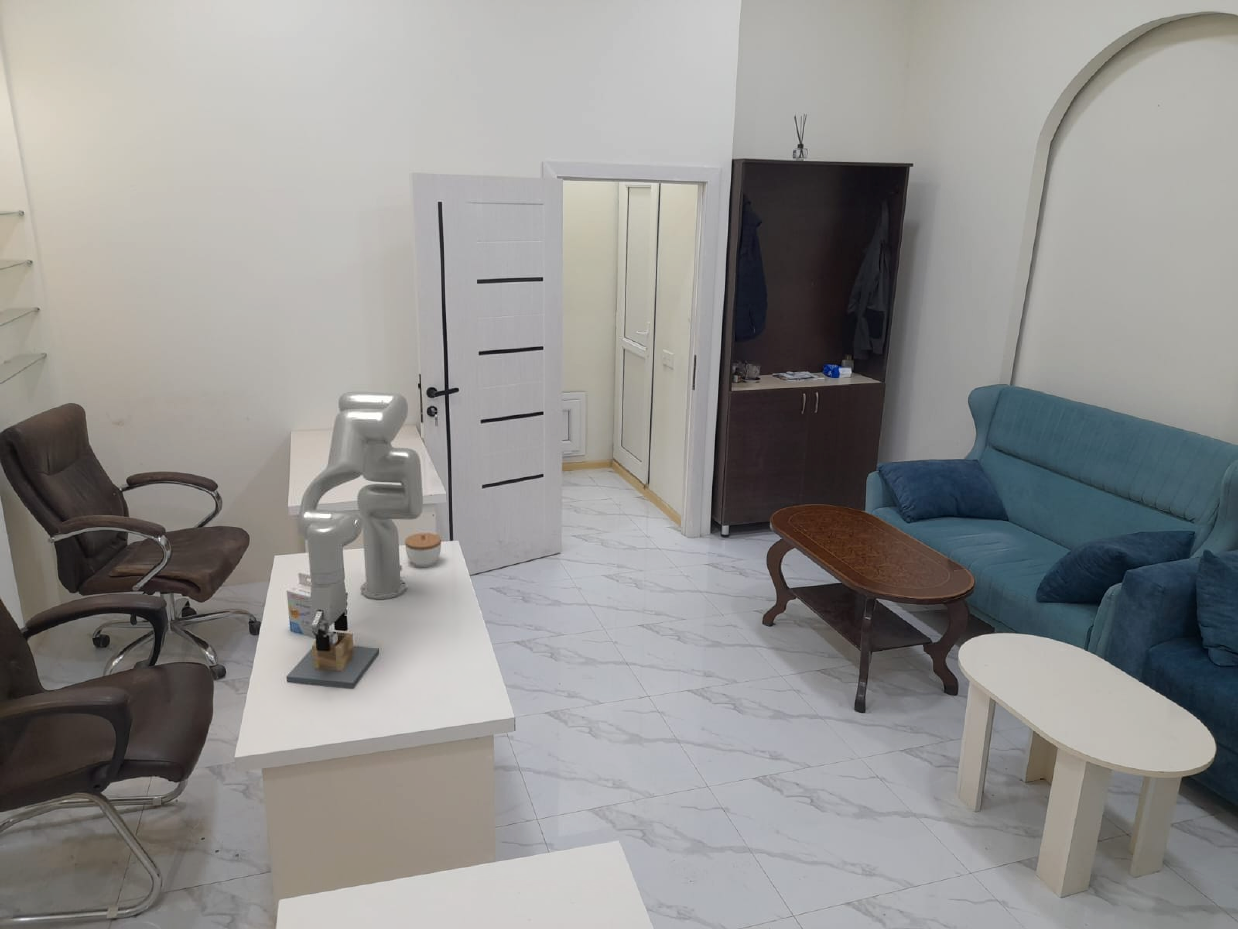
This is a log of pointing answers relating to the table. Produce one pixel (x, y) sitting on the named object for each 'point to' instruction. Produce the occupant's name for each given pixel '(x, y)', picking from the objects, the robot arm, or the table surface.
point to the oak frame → (335, 654)
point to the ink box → (301, 606)
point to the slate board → (334, 678)
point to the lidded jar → (423, 549)
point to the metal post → (333, 638)
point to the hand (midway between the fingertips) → (332, 640)
